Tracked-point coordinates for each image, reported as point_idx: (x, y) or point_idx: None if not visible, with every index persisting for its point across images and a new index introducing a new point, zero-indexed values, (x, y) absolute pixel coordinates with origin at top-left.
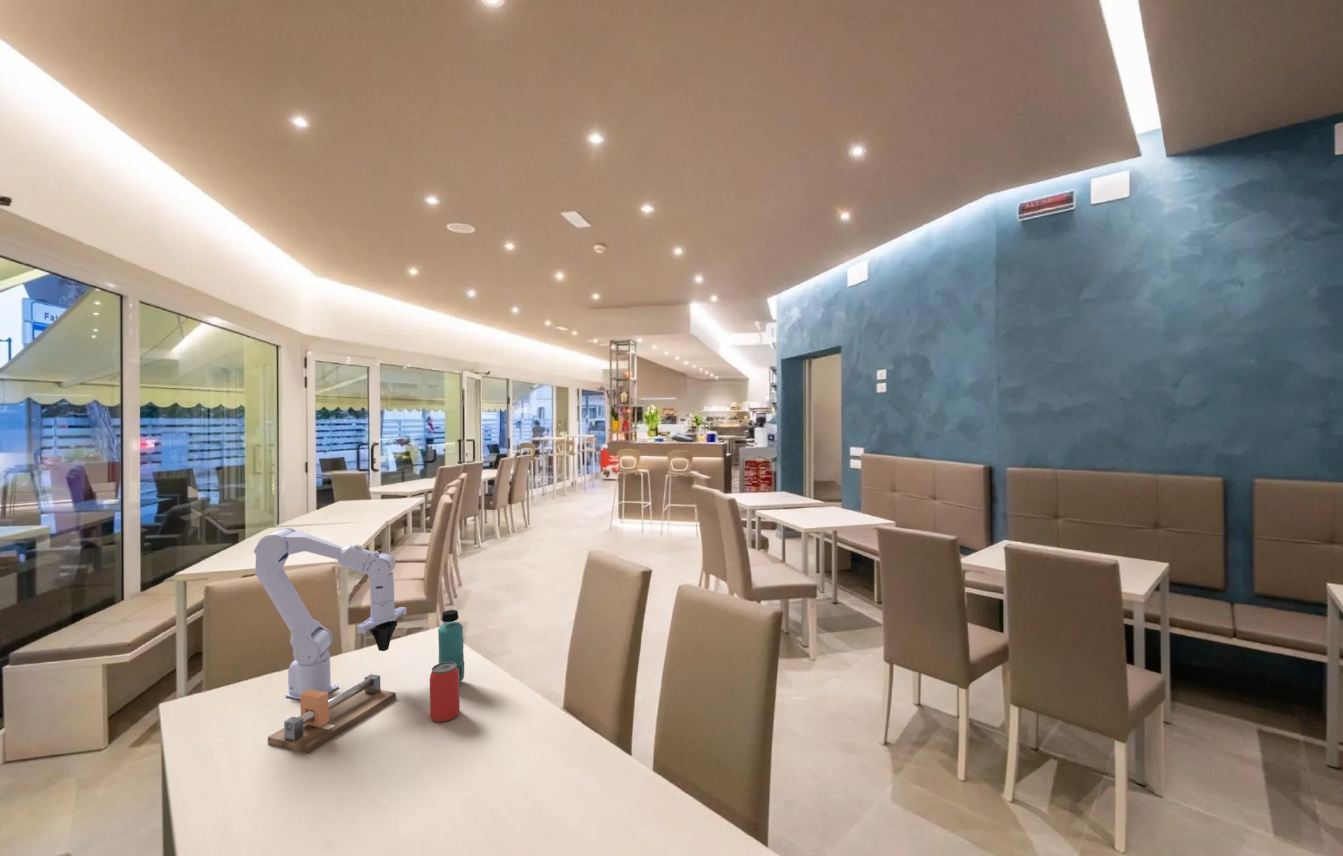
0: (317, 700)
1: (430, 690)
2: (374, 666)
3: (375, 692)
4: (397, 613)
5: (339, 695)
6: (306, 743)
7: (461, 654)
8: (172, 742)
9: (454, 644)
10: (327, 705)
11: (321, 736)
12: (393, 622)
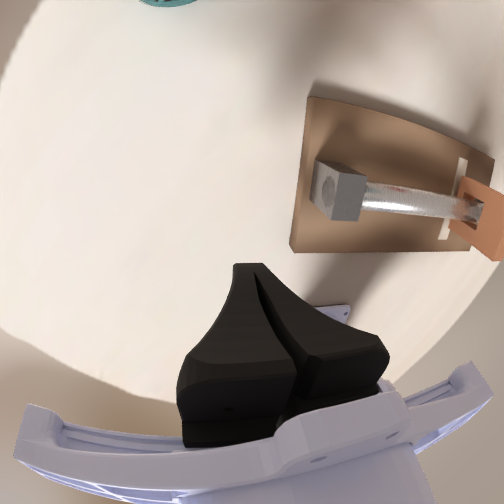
0: None
1: None
2: (150, 321)
3: (337, 162)
4: (164, 487)
5: (448, 207)
6: (490, 168)
7: None
8: (427, 351)
9: None
10: (490, 189)
11: (480, 157)
12: (226, 399)
